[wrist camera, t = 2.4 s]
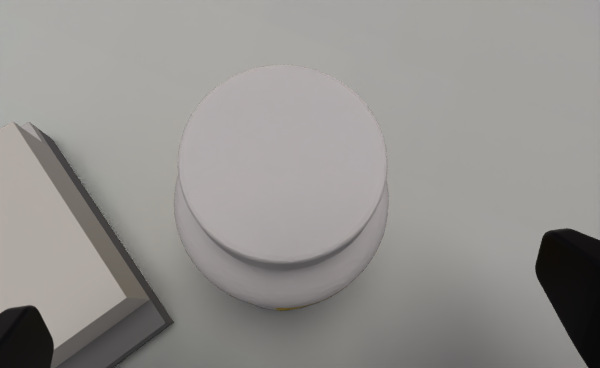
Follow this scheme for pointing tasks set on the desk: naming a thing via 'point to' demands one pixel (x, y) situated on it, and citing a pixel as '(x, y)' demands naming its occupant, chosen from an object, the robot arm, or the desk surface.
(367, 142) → the supplement bottle
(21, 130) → the rail plate
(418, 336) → the desk surface
